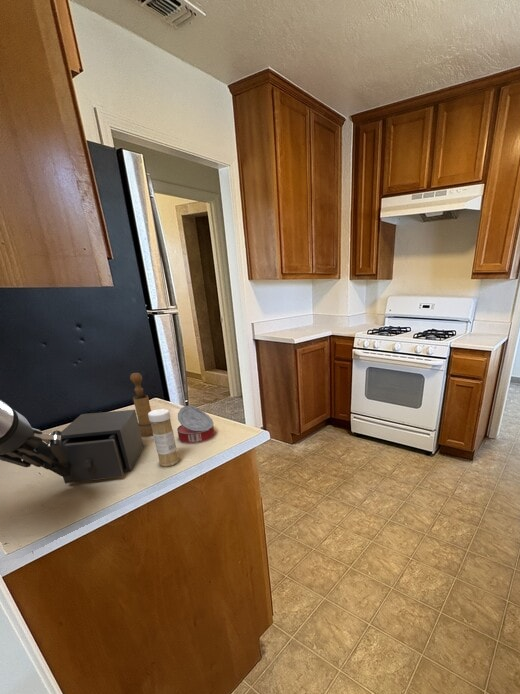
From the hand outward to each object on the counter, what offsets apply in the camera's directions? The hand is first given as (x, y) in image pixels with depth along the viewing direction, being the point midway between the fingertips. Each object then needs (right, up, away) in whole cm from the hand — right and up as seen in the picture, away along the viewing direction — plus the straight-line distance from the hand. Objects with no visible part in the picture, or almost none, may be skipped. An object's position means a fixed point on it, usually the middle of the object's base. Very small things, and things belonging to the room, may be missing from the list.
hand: (66, 469), depth 74 cm
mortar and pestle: (+2, +8, +31) cm, 32 cm away
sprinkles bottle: (+16, 0, +13) cm, 21 cm away
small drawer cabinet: (+1, +1, +14) cm, 14 cm away
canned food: (+18, +7, +28) cm, 33 cm away
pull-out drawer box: (+2, 0, +9) cm, 9 cm away
